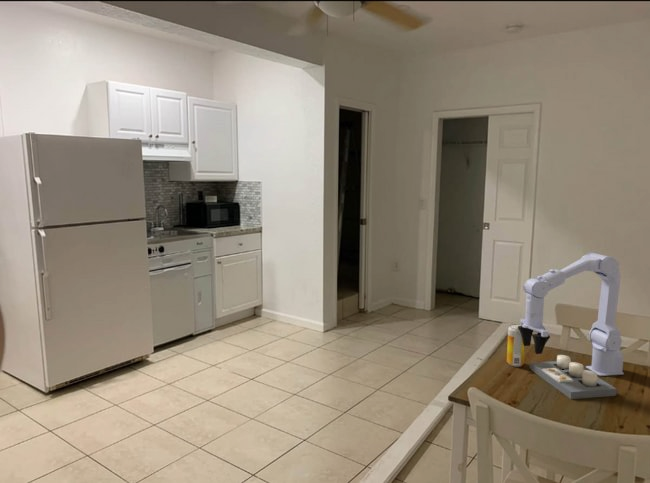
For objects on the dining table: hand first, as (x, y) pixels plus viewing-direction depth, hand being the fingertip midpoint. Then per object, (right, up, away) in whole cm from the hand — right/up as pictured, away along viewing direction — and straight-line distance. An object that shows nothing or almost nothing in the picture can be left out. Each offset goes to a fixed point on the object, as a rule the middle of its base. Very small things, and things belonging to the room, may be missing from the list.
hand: (532, 349), depth 166 cm
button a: (+13, -7, +4) cm, 15 cm away
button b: (+14, -8, -3) cm, 16 cm away
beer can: (-1, -9, +12) cm, 15 cm away
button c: (+15, -9, -10) cm, 20 cm away
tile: (+7, -8, -4) cm, 11 cm away
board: (+12, -11, -3) cm, 16 cm away
